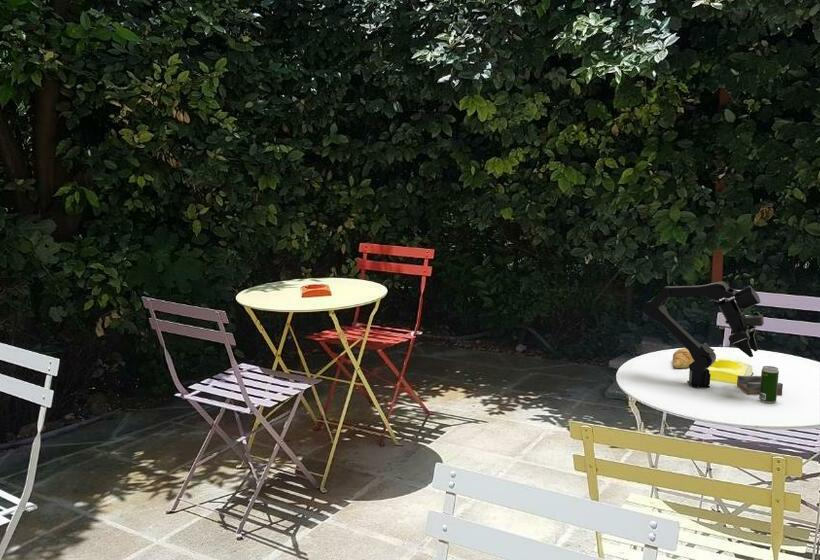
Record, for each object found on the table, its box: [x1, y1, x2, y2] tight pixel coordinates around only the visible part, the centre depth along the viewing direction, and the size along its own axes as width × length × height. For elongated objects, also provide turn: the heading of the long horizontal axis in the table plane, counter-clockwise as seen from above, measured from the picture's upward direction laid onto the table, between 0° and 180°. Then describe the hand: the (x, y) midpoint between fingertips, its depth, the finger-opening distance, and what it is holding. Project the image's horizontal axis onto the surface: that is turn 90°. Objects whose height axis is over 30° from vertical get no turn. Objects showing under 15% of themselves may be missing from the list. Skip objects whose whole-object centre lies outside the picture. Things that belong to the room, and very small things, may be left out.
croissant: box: [672, 347, 694, 369], centre depth 298 cm, size 21×10×8 cm, turn 139°
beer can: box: [758, 365, 780, 404], centre depth 252 cm, size 5×5×12 cm
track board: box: [736, 375, 784, 396], centre depth 264 cm, size 12×10×4 cm
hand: (754, 353), depth 258 cm, fingers open, 9 cm apart
